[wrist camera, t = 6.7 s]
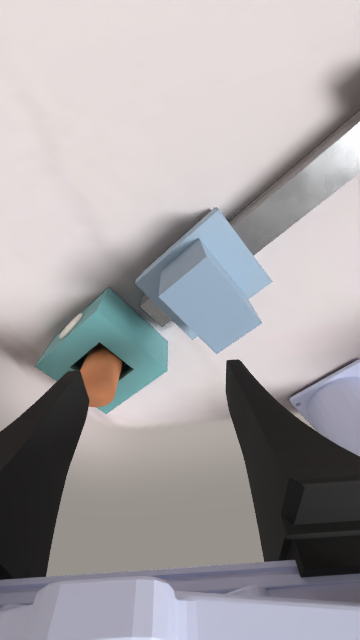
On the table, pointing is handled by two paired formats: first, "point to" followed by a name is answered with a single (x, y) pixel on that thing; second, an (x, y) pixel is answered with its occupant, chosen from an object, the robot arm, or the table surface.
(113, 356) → the plunger
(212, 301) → the carriage
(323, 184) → the rail
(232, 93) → the table surface
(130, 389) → the teal button housing
